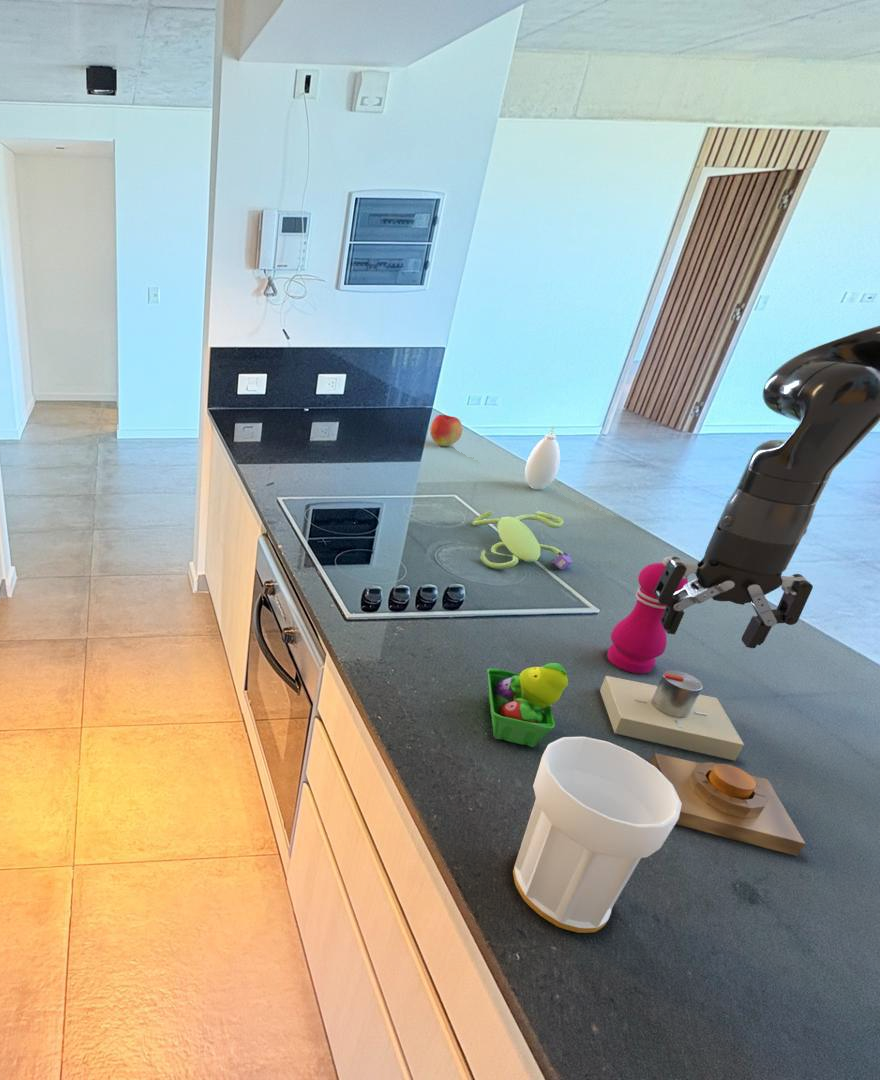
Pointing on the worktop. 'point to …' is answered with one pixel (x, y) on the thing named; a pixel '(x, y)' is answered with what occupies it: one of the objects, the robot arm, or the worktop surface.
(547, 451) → the sauce bottle
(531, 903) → the cup
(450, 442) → the apple
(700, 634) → the worktop surface
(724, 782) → the light button
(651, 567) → the pepper mill
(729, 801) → the switch block
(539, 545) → the figurine
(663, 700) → the dimmer knob
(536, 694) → the fruit basket
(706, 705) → the dimmer panel
